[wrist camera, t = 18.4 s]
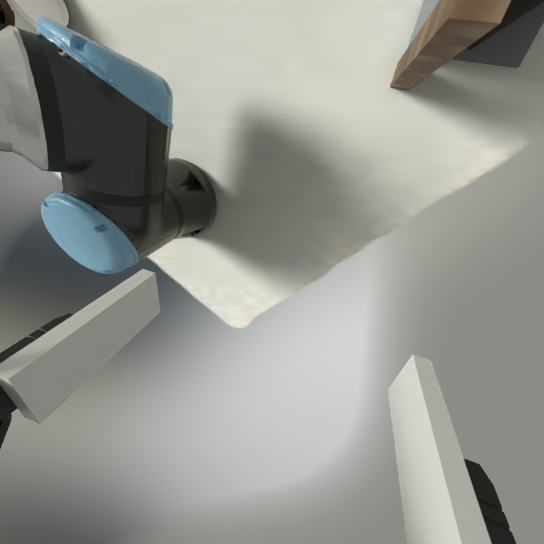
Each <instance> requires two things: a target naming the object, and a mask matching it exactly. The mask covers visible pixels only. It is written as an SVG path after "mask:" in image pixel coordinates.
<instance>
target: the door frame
mask: <svg viewBox="0 0 544 544" xmlns="http://www.w3.org/2000/svg"><path fill="white" fill-rule="evenodd" d="M510 2H511V0H439V2H438V3H437V5H436V6H435V8H434V9H433V11H432V12H431V14H430V15H429V17H428V18H427V20H426V21H425V23H424V24H423V26H422V27H421V29H420V30H419V32H418V33H417V35H416V36H415V38H414V40H413V41H412V43H411V44H410V46H409V47H408V49H407V50H406V52H405V53H404V55H403V56H402V58H401V59H400V61H399V62H398V65H397V68H396V71H395V74H394V77H393V80H392V83H391V86H390V87H394V88H400V89H407V90H409V89H410V88H412V87H413V86H415V85H416V84H417V83H419V82H420V81H422V80H423V79H424V78H426V77H427V76H428V75H430V74H431V73H433V72H434V71H435V70H437V69H438V68H439V67H441V66H442V65H444V64H445V63H446V62H448V61H449V60H450V59H452V58H453V57H455V56H456V55H457V54H459V53H460V52H462V51H463V50H464V49H466V48H467V47H468V46H470V45H471V44H473V43H474V42H475V41H477V40H478V39H479V38H481V37H482V36H484V35H485V34H486V33H488V32H489V31H490V30H492V29H493V28H495V27H496V26H497V25H499V24H500V23H501V21H502V19H503V17H504V14H505V12H506V10H507V8H508V6H509V4H510Z"/></svg>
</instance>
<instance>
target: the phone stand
mask: <svg viewBox="0 0 544 544" xmlns="http://www.w3.org/2000/svg"><path fill="white" fill-rule="evenodd" d="M542 3H544V0H511V2H510V4H509V6H508V8H507V10H506V12H505V14H504V17H503V19H502V21H501V23H500V24H499V25H497V26H496V27H495V28H493V29H492V30H490V31H489V32H488V33H486V34H485V35H484V36H482V37H481V38H479V39H478V40H477V41H475V42H474V43H473V44H471V45H470V46H468V48H469V51H470V50H471V49H473V48H474V47H476V46H477V45H479V44H480V43H482V42H483V41H485V40H487V39H488V38H490V37H491V36H493V35H494V34H496V33H497V32H499V31H500V30H502V29H504V28H505V27H507V26H508V25H510V24H511V23H513V22H514V21H516V20H517V19H519V18H520V17H522V16H524V15H525V14H527V13H528V12H530V11H531V10H533V9H534V8H536V7H537V6H539V5H541V4H542Z"/></svg>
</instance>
